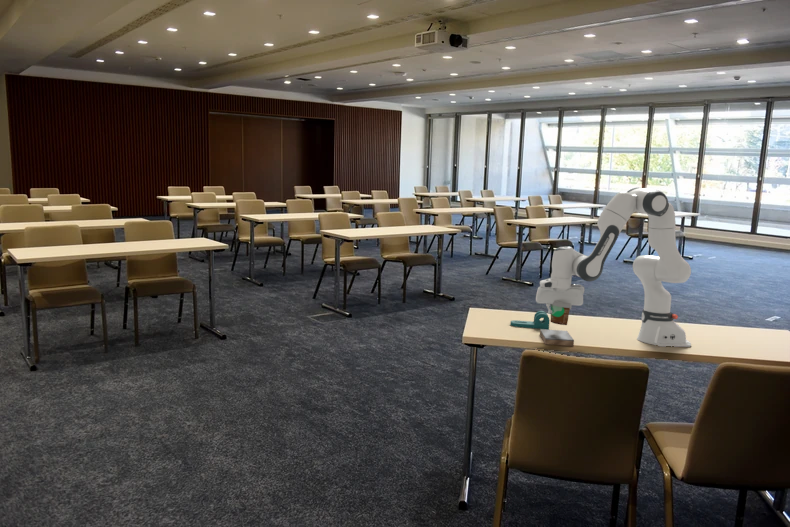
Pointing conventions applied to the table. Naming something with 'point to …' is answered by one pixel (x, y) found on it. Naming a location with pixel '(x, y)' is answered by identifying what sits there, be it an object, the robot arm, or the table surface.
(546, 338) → the grey flat block
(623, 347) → the table surface
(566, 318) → the food container
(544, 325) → the bracket
